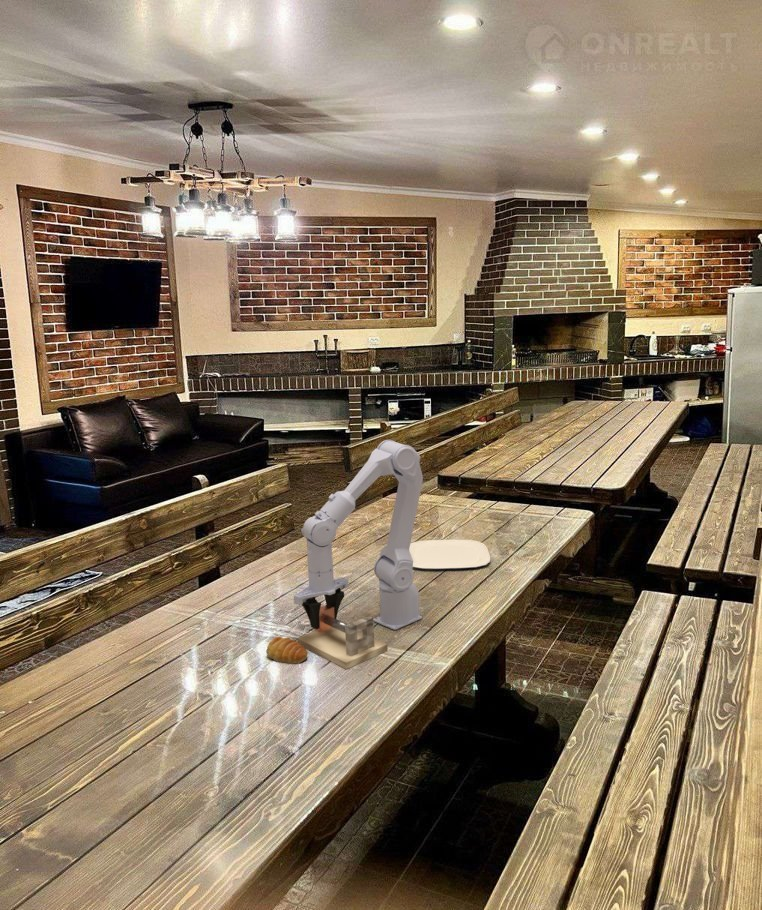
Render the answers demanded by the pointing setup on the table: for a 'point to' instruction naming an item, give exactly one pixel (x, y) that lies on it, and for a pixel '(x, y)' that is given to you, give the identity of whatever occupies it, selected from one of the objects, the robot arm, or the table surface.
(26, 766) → the table surface
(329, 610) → the bolt
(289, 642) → the pastry
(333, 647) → the latch board
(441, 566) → the plate
